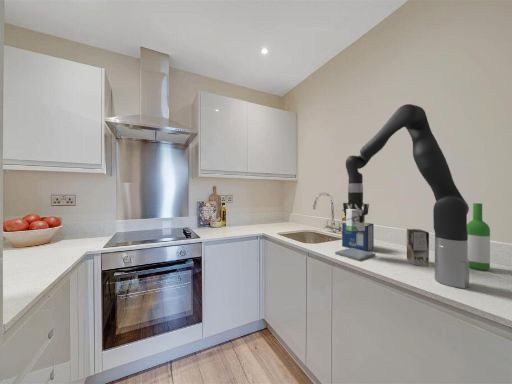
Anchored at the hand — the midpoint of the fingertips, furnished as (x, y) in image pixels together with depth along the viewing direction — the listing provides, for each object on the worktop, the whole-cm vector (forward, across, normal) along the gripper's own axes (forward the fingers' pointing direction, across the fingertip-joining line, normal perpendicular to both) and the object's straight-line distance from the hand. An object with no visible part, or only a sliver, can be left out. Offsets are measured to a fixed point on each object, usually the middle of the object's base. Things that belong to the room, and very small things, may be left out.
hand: (355, 221), depth 114 cm
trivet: (+18, 0, 0) cm, 18 cm away
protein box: (+19, +8, -16) cm, 26 cm away
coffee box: (+19, -24, -14) cm, 33 cm away
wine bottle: (+19, -42, -29) cm, 54 cm away
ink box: (+5, 0, 0) cm, 5 cm away
